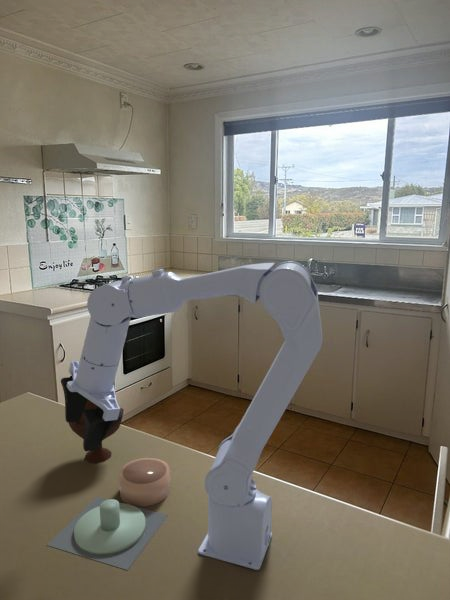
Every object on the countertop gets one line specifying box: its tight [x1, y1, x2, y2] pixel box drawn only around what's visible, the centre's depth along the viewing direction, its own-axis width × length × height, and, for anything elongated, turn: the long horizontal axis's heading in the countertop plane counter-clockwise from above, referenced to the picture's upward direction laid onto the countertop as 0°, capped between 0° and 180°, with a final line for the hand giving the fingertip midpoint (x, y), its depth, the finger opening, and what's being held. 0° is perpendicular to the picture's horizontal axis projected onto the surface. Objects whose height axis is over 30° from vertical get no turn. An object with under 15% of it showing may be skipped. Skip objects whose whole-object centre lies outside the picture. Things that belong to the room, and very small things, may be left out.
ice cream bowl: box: [67, 400, 125, 464], centre depth 92 cm, size 11×11×15 cm
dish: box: [118, 457, 171, 507], centre depth 81 cm, size 9×9×4 cm
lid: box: [74, 498, 146, 555], centre depth 71 cm, size 11×11×4 cm
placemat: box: [46, 496, 169, 571], centre depth 72 cm, size 14×13×1 cm
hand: (81, 434), depth 71 cm, fingers open, 7 cm apart
